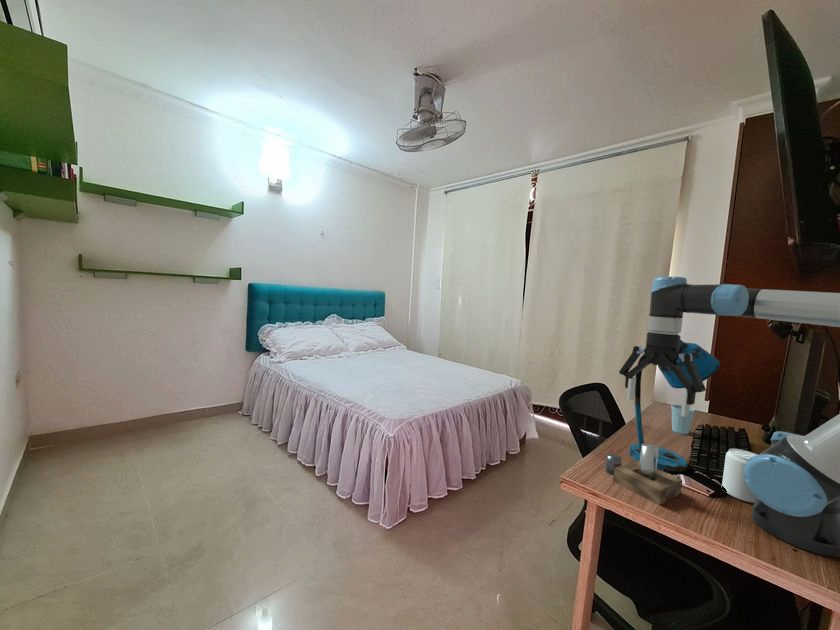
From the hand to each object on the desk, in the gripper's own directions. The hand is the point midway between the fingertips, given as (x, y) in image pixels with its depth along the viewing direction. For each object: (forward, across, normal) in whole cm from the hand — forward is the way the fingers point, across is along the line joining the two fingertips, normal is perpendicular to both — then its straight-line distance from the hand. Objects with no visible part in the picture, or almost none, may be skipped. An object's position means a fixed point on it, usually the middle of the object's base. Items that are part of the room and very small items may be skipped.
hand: (655, 407), depth 92 cm
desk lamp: (+23, +6, -24) cm, 34 cm away
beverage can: (+24, -14, -21) cm, 35 cm away
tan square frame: (+23, 0, 0) cm, 23 cm away
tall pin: (+23, 0, +1) cm, 23 cm away
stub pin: (+23, +9, +1) cm, 25 cm away
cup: (+23, +15, -61) cm, 67 cm away
